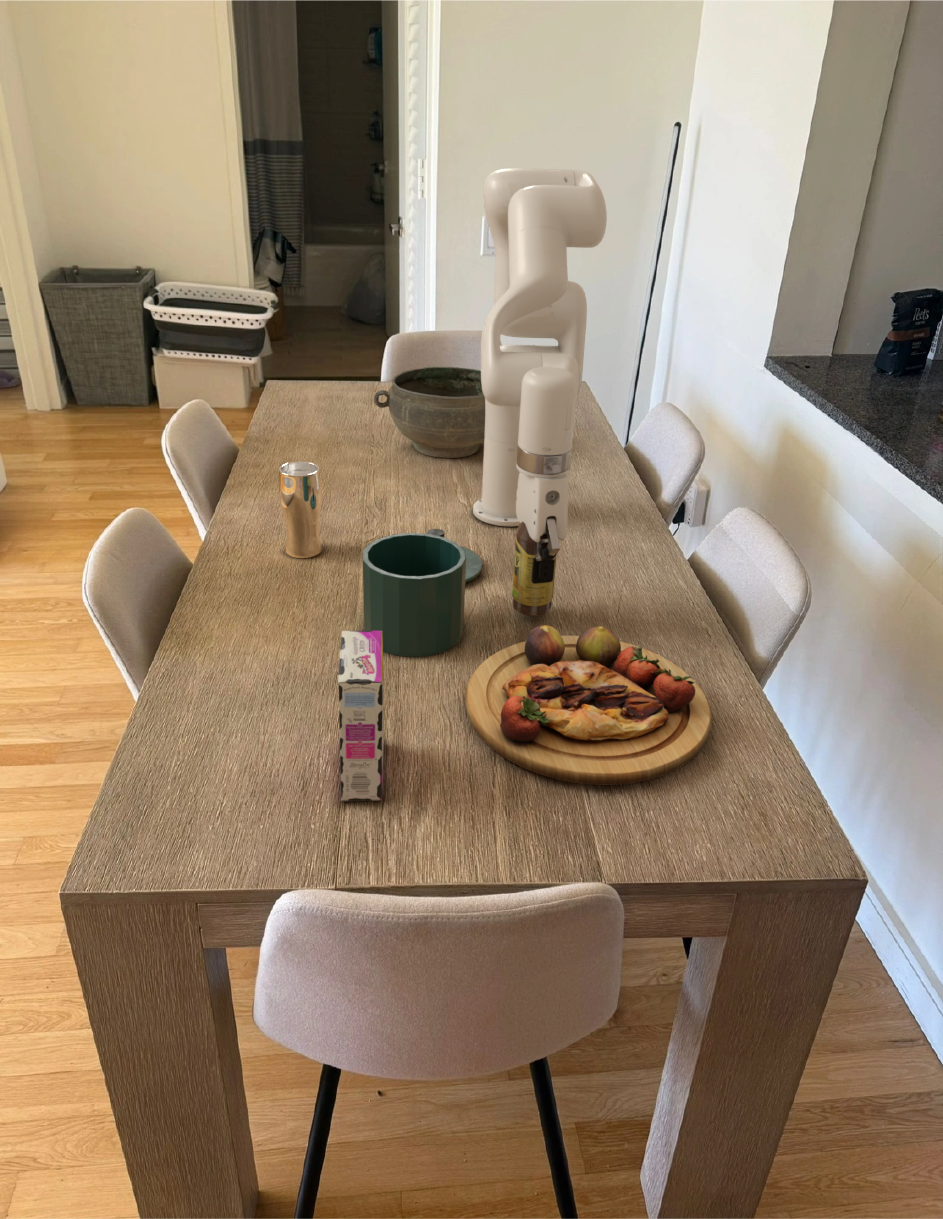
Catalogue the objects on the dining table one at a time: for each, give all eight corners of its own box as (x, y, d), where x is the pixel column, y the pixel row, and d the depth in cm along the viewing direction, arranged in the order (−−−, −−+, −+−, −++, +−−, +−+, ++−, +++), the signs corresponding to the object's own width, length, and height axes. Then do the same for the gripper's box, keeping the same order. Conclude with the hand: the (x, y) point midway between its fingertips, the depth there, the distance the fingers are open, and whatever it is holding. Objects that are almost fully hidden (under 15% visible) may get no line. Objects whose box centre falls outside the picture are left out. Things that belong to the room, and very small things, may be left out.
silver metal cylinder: (316, 561, 159) (312, 478, 152) (277, 556, 160) (270, 473, 153) (329, 544, 165) (326, 463, 158) (291, 539, 166) (286, 458, 159)
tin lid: (455, 542, 168) (456, 507, 164) (498, 579, 156) (500, 543, 153) (374, 557, 161) (373, 521, 158) (412, 598, 149) (412, 560, 146)
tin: (436, 598, 149) (437, 526, 143) (480, 643, 138) (484, 567, 132) (349, 617, 143) (347, 542, 137) (388, 666, 132) (387, 587, 126)
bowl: (506, 426, 224) (509, 363, 216) (531, 466, 202) (536, 397, 194) (369, 429, 218) (368, 364, 211) (380, 470, 196) (379, 399, 189)
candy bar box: (384, 802, 108) (383, 682, 99) (340, 803, 107) (335, 683, 99) (384, 741, 117) (383, 628, 109) (343, 742, 117) (339, 628, 109)
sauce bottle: (517, 594, 149) (526, 476, 139) (556, 602, 147) (567, 483, 137) (505, 613, 143) (513, 492, 133) (545, 622, 142) (556, 500, 132)
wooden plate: (545, 822, 106) (550, 764, 102) (424, 677, 130) (424, 626, 126) (762, 747, 119) (775, 693, 115) (615, 629, 143) (622, 580, 139)
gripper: (591, 480, 126) (578, 596, 136) (548, 435, 141) (539, 542, 150) (538, 484, 125) (528, 601, 134) (500, 437, 139) (494, 546, 148)
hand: (534, 569), depth 142 cm, fingers closed on sauce bottle, 6 cm apart
